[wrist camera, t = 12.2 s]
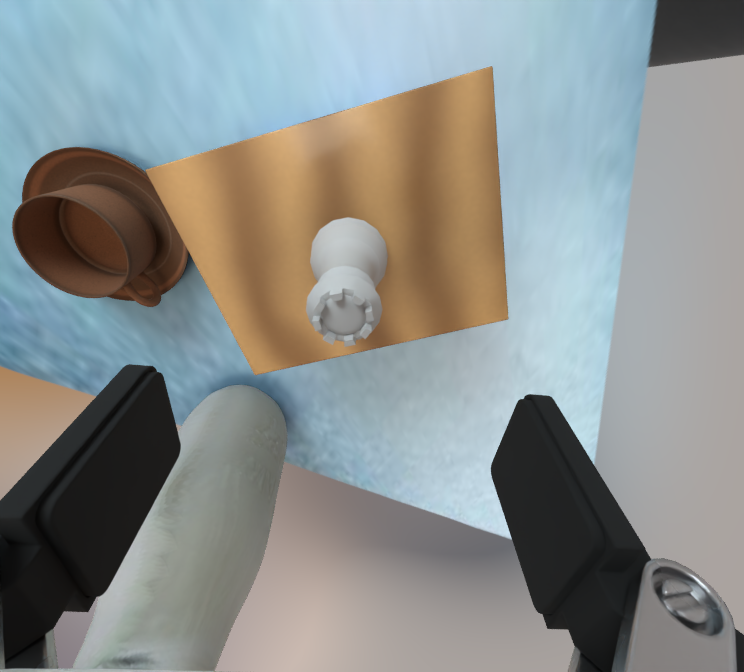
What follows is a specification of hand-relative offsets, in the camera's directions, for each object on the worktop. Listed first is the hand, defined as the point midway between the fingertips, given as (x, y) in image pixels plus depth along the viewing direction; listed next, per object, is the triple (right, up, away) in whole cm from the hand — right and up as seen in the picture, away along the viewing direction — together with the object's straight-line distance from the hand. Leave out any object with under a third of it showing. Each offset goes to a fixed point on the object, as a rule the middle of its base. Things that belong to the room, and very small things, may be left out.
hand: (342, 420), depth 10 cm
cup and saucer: (-20, +12, +21) cm, 31 cm away
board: (-1, +8, +13) cm, 15 cm away
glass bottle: (-13, -5, +31) cm, 34 cm away
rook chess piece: (0, +7, +12) cm, 14 cm away
